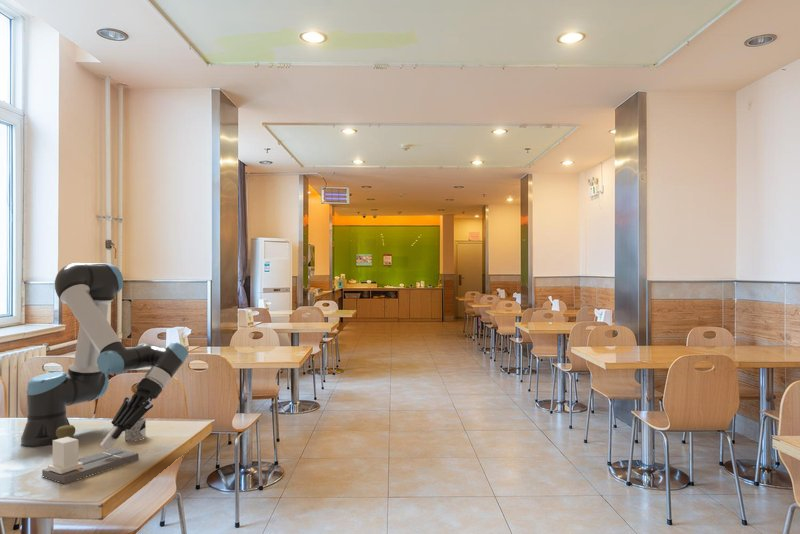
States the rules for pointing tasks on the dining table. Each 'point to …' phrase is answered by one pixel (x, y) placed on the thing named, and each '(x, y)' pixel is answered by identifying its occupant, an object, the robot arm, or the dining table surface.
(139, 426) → the mug
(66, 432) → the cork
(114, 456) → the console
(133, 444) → the dining table surface
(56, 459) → the slider handle
